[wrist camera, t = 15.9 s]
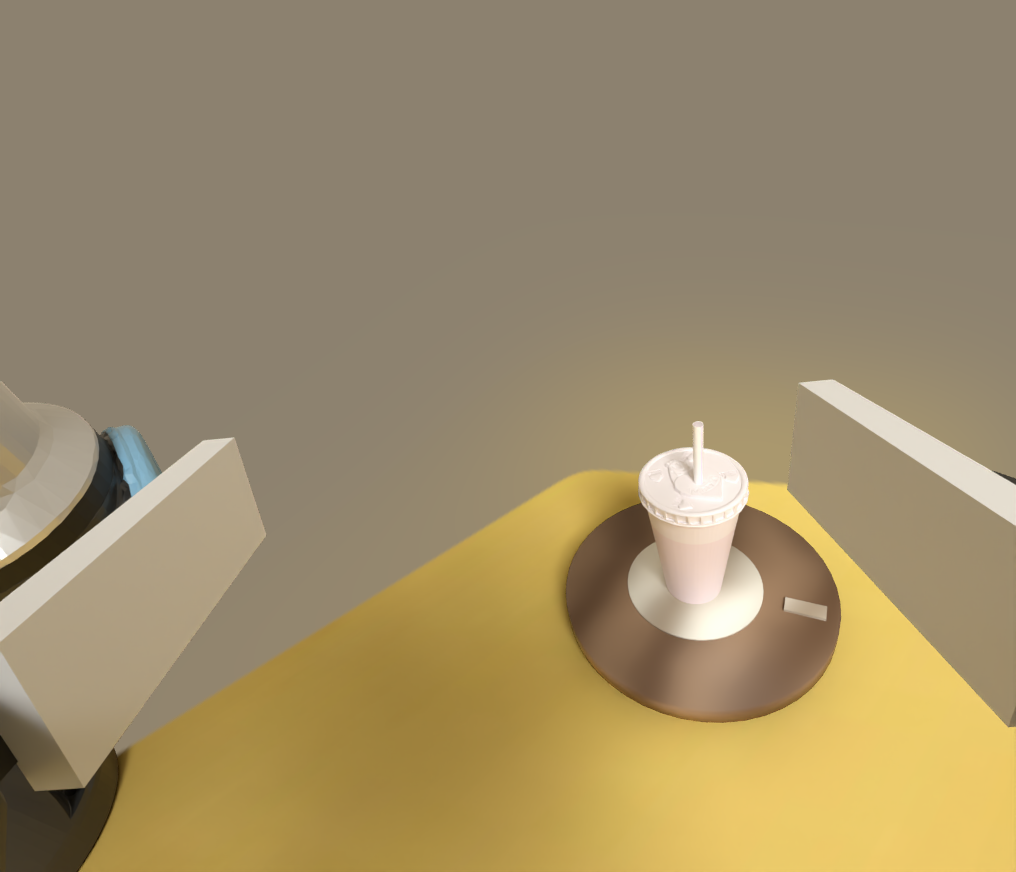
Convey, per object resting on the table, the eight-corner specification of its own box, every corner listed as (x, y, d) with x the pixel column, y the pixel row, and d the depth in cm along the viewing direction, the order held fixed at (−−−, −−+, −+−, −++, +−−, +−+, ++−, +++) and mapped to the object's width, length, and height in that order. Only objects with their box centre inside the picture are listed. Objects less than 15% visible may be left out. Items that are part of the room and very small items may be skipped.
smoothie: (689, 638, 36) (685, 472, 28) (627, 574, 41) (609, 418, 33) (763, 590, 37) (780, 421, 29) (696, 534, 42) (695, 377, 34)
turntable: (529, 667, 38) (525, 654, 37) (611, 493, 50) (610, 479, 49) (831, 771, 30) (835, 757, 29) (842, 531, 42) (845, 516, 41)
